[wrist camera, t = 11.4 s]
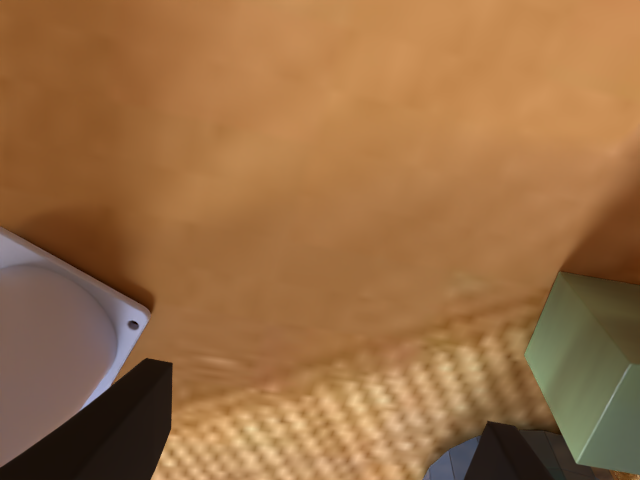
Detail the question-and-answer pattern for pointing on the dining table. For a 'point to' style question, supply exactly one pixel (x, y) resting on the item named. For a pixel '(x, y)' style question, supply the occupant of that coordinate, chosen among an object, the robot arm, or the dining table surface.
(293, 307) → the dining table surface
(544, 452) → the bowl
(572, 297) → the block
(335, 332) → the dining table surface
